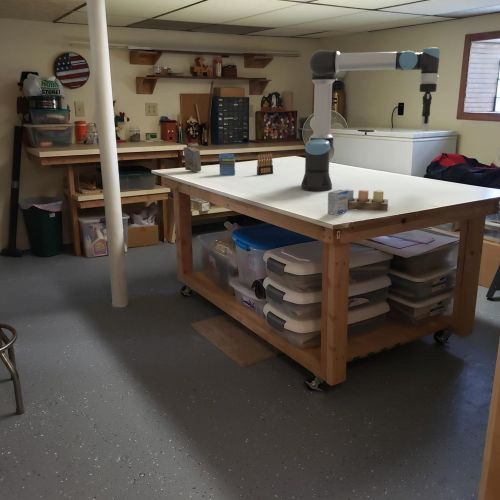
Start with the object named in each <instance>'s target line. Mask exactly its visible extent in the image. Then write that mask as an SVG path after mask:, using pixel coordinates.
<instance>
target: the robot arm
mask: <svg viewBox="0 0 500 500" xmlns="http://www.w3.org/2000/svg"><path fill="white" fill-rule="evenodd" d="M308 66H309V69H310V71H311V82H312V83H313V84H314V89H313V90H314V93H313V95H314V99H313V133H312V135H311V136H310V138H309V140H307V141H306V143H305V147H304V148H305V158H304V159H305V160H304V161H305V165H304V167H305V168H304V176H303V178H302V181H301V184H300V185H301V186H300V189H302V190H304V191H310V192H311V191H312V192H324V191H330V190H332V189H333V184H332V180H331V177H330V161H331V160H332V158H333V156H334V154H335V147H334V136H333V135H332V133H331V132H332V131H331V128H332V127H331V126H332V125H331V124H332V103H333V102H332V100H333V97H332V96H333V84H334V82H335V81H336V76H337V75H336V74H338V73H339V72H342V71H344V72H345V71H384V70H385V71H387V70H391V71H392V70H395V71H420V78H419V83H420V84H419V89H418V90H419V92H420V93H424V94H423V96H422V111H421V123H420V129H421V131H423V132H424V131H425V132H426V131H427V132H428V131H429V127H430V126H429V125H430V115H431V105H432V99H433V97H432V93H436V92H437V88H438V87H437V86H438V85H437V82H438V79H439V77H440V75H438V73H439V68H440V67H439V66H440V48H439V47H423V48H422V52H414V51H413V50H403V51H371V52H370V51H369V52H368V51H367V52H340V51H338V50H327V49H326V50H325V49H317V50H316V51H315V52H313V53H312V54H311V56H310V58H309V61H308Z"/></svg>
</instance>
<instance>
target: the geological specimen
mask: <svg viewBox="0 0 500 500" xmlns="http://www.w3.org/2000/svg"><path fill="white" fill-rule="evenodd" d="M182 150H183V155H184V168H185V170H186V171H191V172H193V173H199V172H201V171H202V165H201V164H202V163H201V161H202V159H201V151H200V149H198V148H195V147H189V146H186V147H183V149H182Z"/></svg>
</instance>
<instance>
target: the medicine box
mask: <svg viewBox="0 0 500 500" xmlns="http://www.w3.org/2000/svg"><path fill="white" fill-rule="evenodd" d="M347 206H348V191H347V189H337V190H333V191H330V192H327V214H328V213H332V214H331V215H334V214H339V215H341V214H344V213H346V211H347V212H348V209H347ZM343 212H344V213H343ZM340 213H341V214H340Z"/></svg>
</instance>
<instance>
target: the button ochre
mask: <svg viewBox="0 0 500 500" xmlns="http://www.w3.org/2000/svg"><path fill="white" fill-rule="evenodd" d="M372 199H373V202H380V203H383V199H384V190H373V196H372Z"/></svg>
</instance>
